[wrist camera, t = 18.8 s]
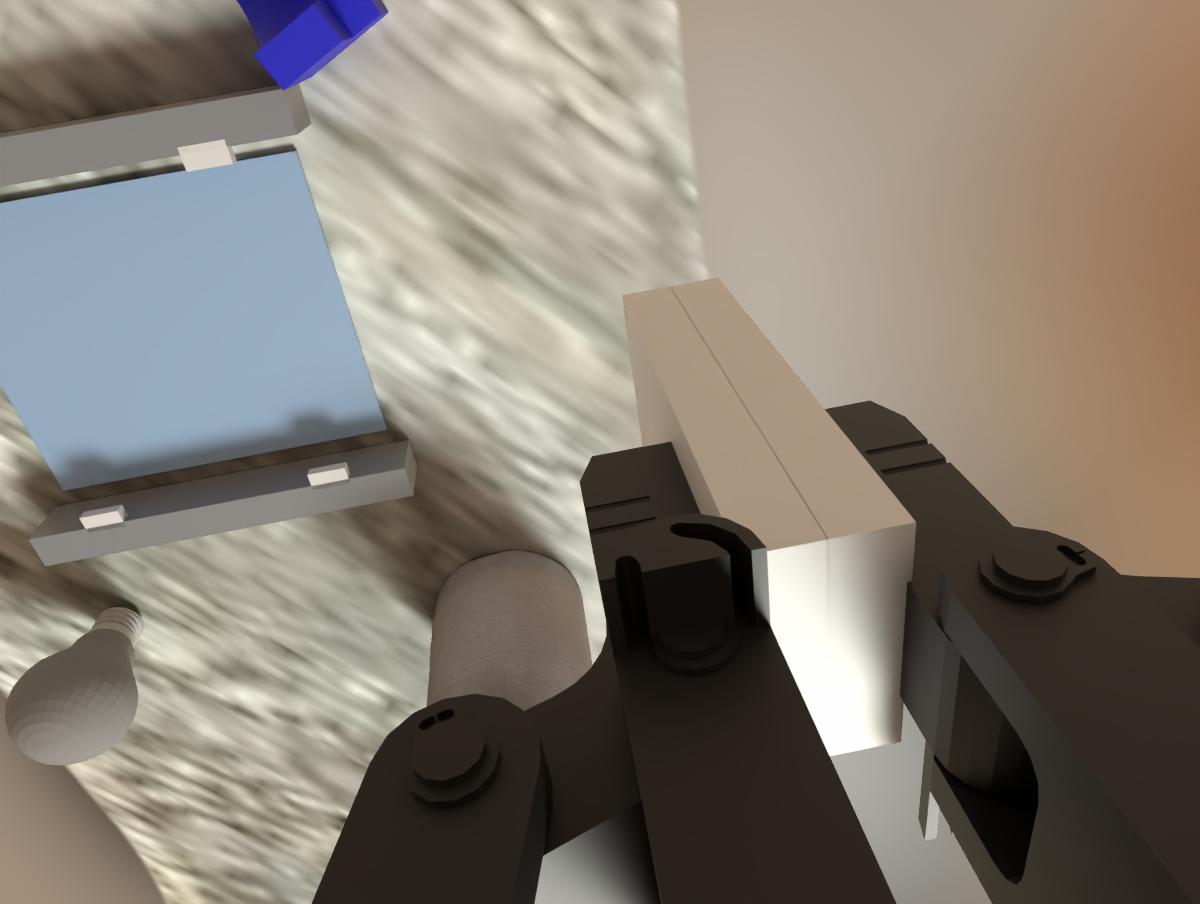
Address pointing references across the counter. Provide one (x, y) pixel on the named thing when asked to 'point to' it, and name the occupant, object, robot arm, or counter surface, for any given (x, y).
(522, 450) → the counter surface
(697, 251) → the counter surface
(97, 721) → the light bulb
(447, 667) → the pillar candle
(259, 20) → the cable clip
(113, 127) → the blue panel with rails
